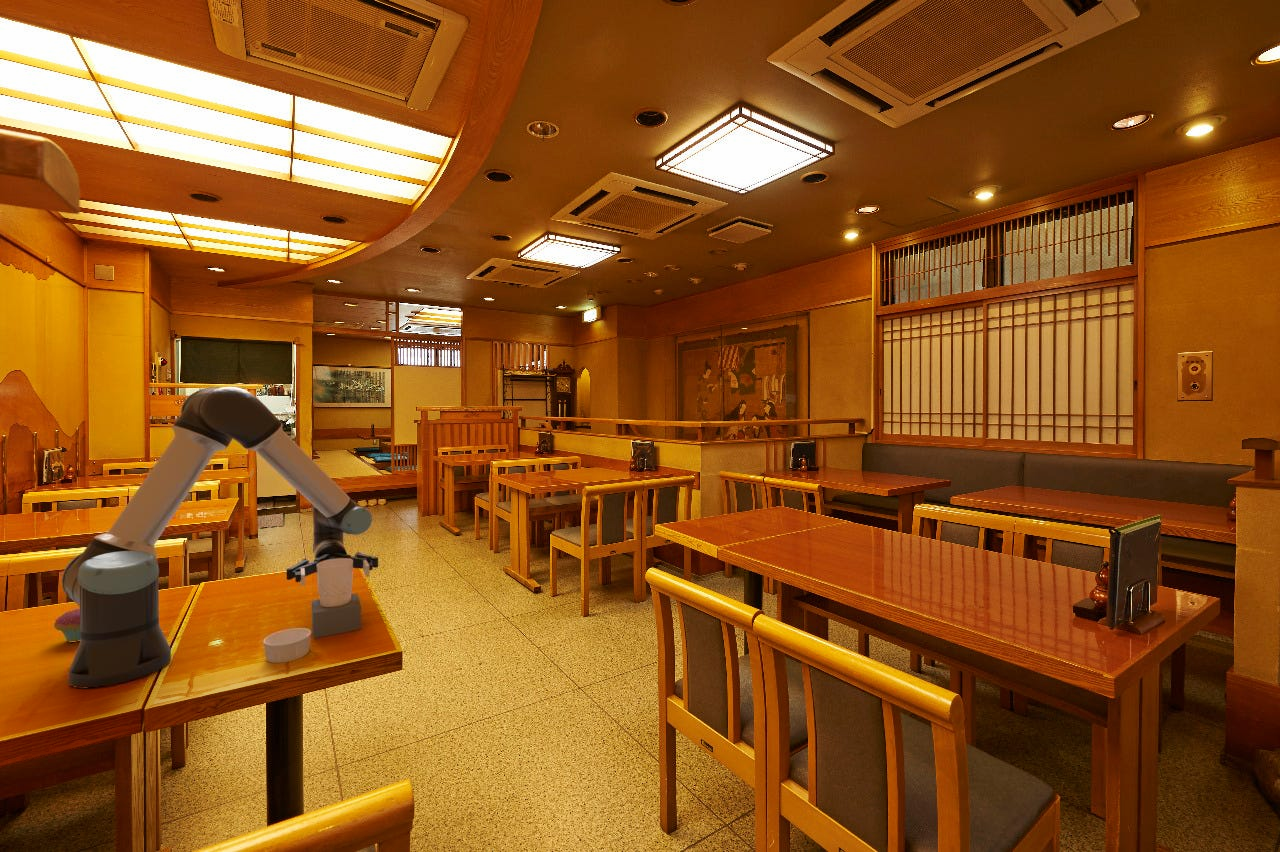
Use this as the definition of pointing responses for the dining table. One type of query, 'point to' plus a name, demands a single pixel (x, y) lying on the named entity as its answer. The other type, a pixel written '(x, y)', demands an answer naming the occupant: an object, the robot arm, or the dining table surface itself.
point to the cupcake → (69, 625)
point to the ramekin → (287, 645)
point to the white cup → (335, 581)
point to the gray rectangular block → (336, 618)
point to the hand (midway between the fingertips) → (336, 576)
